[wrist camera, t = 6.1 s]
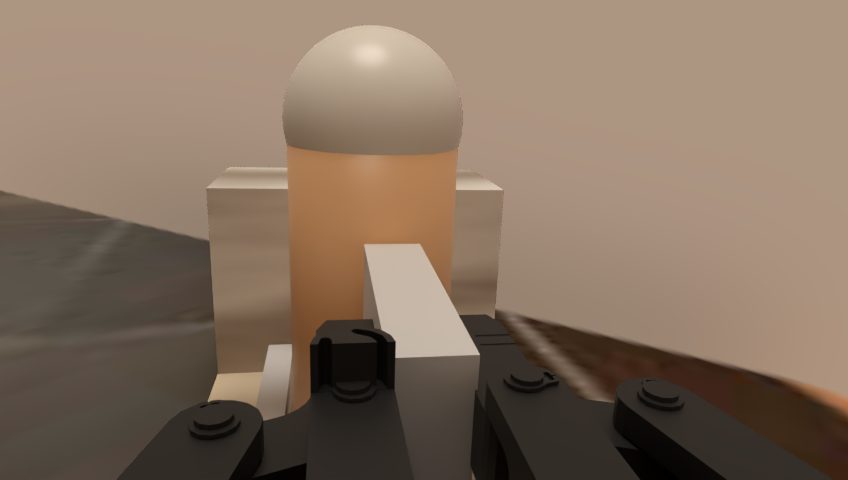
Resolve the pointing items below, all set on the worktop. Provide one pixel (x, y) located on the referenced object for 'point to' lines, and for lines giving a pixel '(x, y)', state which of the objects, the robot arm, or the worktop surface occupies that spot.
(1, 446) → the worktop surface
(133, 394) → the worktop surface
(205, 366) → the worktop surface
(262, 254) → the knob mount
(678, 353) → the worktop surface
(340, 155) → the plunger knob
